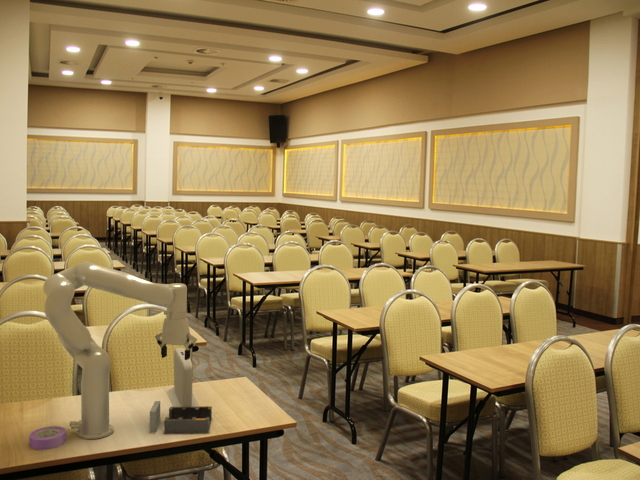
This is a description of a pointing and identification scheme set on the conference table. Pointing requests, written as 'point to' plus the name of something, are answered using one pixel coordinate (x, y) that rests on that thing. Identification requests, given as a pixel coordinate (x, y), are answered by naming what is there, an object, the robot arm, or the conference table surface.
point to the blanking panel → (154, 416)
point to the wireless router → (182, 381)
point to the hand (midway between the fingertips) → (175, 358)
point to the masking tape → (47, 437)
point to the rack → (188, 420)
